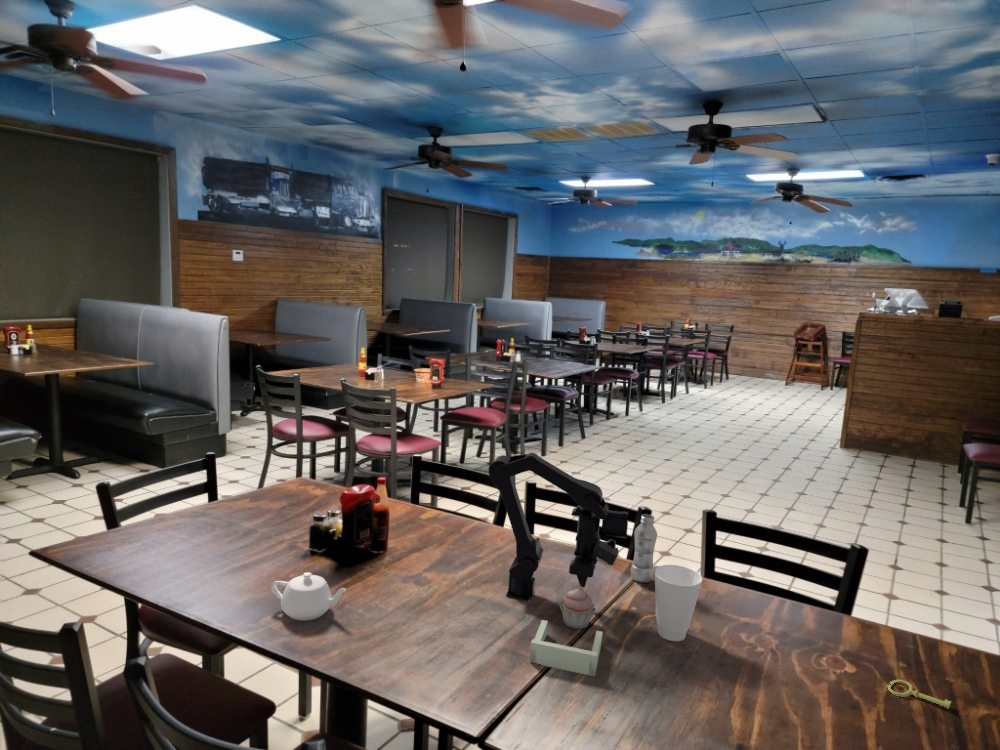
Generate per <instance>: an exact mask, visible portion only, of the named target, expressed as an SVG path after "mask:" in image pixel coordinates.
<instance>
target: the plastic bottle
mask: <svg viewBox="0 0 1000 750" xmlns="http://www.w3.org/2000/svg"><path fill="white" fill-rule="evenodd" d="M640 517H641V518H640V523H639V525H638V526H637V527H636V528H635V530H634V554H633V560H632V564H631V568H630V576H631V578H632V579H633V580H634V581H636V582H638V583H647V584H648V583H650V582H651V581H652V580H653V578H654V576H655V574H654V570H655V569H654V552H655V546H656V543H657V539H658V533H657V532H658V531H657V530H656V527H655V526H654V524H655V516H654V515H652V514H647V513H644V514H643V513H642V514H641V516H640Z"/></svg>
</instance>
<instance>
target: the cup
mask: <svg viewBox="0 0 1000 750" xmlns="http://www.w3.org/2000/svg"><path fill="white" fill-rule="evenodd" d="M653 570H654V590H655V591H654V592H655V593H654V594H655V618H656V619H655V620H656V625H657V633H658V635H659V636H660V637H661V638H663V639H665V640H666V641H667V640H668V641H669V642H670V641H672V642H680V641H681V642H682V641H684V640H685V639H686V636H687V633H688V630H690V629H689V628H690V625H691V622H692V619H693V616H694V611H695V608H696V604H697V602H698V601H697V600H698V597H699V594H700V591H701V587H702V584H703V581H704V579H703V576H702V575H701V574H700V573H699V572H697V571H696V570H694V569H692V568H689V567H686V566H682V565H677V564H662V565H658V566H657V567H656V568H655V569H653Z"/></svg>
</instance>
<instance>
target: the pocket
mask: <svg viewBox="0 0 1000 750" xmlns="http://www.w3.org/2000/svg"><path fill="white" fill-rule="evenodd" d="M548 625H549V621H548V620H544V619H541V621H540V625H539V626H538V629H537V632H536V634H535V636H534V638H533V639H531V642H530V651H529V652H530V653H529V662H533V663H532V664H534V663H537V664H536V665H538V664H541V665H540V666H543V665H544V666H543V667H548V668H553V669H558V670H562V671H568V672H572V673H577V674H581V675H584V676H585V675H586V676H591V677H596V672H597V668H598V663H599V658H600V654H601V648H602V643H603V631H600V630H596V631H595V636H594V641H593V645H592V648H591V650H587V649H584V648H578V647H573V646H569V645H563V644H558V643H555V642H554V643H553V642H549V641H546V638H547V635H548ZM544 640H545V641H544Z"/></svg>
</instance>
